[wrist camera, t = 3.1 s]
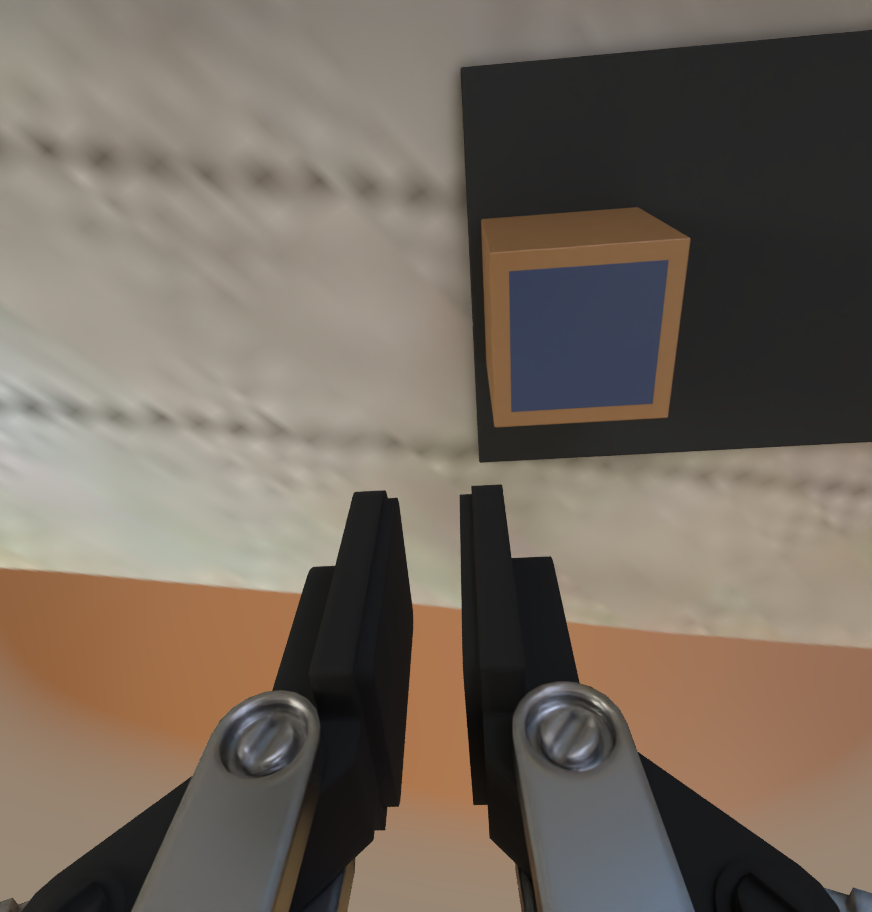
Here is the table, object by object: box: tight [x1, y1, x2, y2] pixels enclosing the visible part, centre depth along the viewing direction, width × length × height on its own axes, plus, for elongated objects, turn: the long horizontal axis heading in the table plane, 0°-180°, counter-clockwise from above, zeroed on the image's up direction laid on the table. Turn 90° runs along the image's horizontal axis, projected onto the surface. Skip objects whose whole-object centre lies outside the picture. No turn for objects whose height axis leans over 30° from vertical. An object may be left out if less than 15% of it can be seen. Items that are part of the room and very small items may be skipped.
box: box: [481, 207, 691, 427], centre depth 22 cm, size 6×6×6 cm
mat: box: [461, 30, 872, 462], centre depth 25 cm, size 25×16×1 cm, turn 94°
